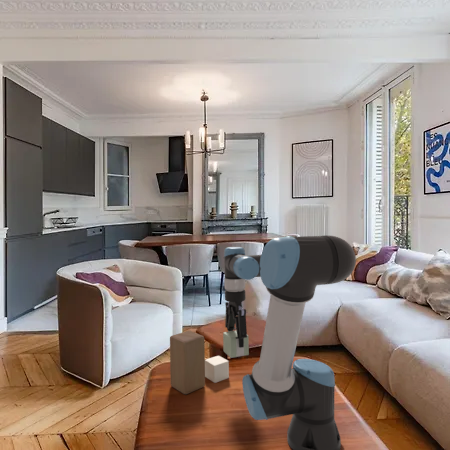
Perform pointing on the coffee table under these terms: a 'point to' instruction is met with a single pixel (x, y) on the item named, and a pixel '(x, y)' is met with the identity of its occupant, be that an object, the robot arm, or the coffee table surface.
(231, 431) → the coffee table surface
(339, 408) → the coffee table surface
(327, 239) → the robot arm
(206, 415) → the coffee table surface
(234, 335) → the sage cube
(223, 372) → the cream cube
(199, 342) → the wooden block
